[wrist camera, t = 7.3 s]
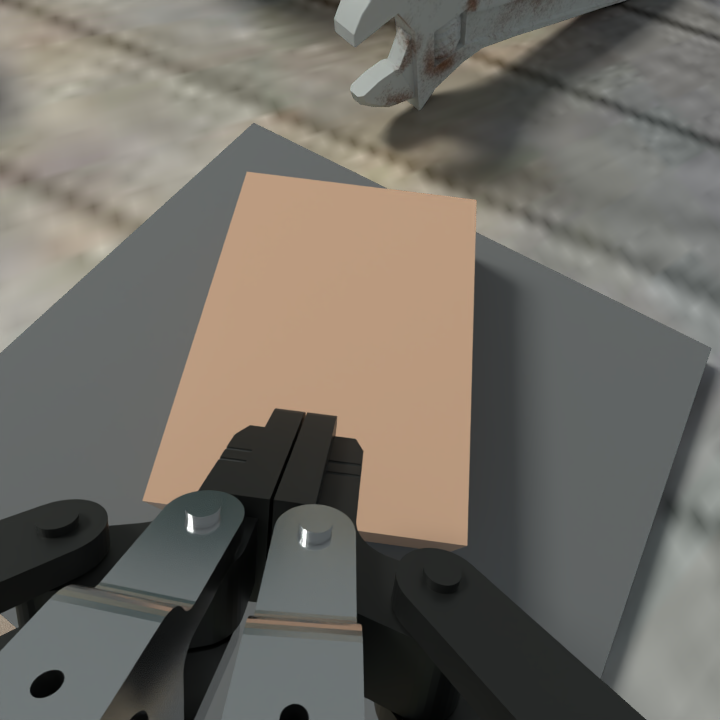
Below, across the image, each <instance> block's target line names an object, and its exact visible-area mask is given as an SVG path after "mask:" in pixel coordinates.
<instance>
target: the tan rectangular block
mask: <svg viewBox="0 0 720 720" xmlns="http://www.w3.org/2000/svg"><path fill="white" fill-rule="evenodd" d="M475 237H476V200H473V199H465V198H457V197H449V196H441V195H433V194H425V193H416V192H408V191H400V190H392V189H384V188H376V187H368V186H359V185H351V184H343V183H335V182H327V181H319V180H311V179H303V178H294V177H286V176H278V175H270V174H262V173H254V172H247V173H246V176H245V179H244V182H243V185H242V189H241V192H240V195H239V198H238V201H237V204H236V207H235V211H234V214H233V217H232V220H231V223H230V226H229V229H228V233H227V236H226V239H225V242H224V245H223V248H222V252H221V255H220V258H219V261H218V264H217V267H216V270H215V274H214V277H213V280H212V283H211V286H210V289H209V292H208V296H207V299H206V302H205V305H204V308H203V311H202V314H201V318H200V321H199V324H198V327H197V330H196V333H195V336H194V340H193V343H192V346H191V349H190V352H189V355H188V359H187V362H186V365H185V368H184V371H183V374H182V377H181V381H180V384H179V387H178V390H177V393H176V396H175V399H174V403H173V406H172V409H171V412H170V415H169V418H168V421H167V425H166V428H165V431H164V434H163V437H162V440H161V444H160V447H159V450H158V453H157V456H156V459H155V462H154V466H153V469H152V472H151V475H150V478H149V481H148V484H147V488H146V491H145V494H144V497H143V500H142V501H144V502H146V503H148V504H150V505H153V506H155V507H157V508H159V509H162V510H163V508H164V507H165V506H166V505H167V504H168V503H170V502H171V501H172V500H174V499H176V498H178V497H179V496H182V495H184V494H187V493H191V492H195V491H198V490H199V488H200V487H201V485H202V484H203V482H204V481H205V479H206V478H207V476H208V474H209V473H210V471H211V470H212V468H213V467H214V465H215V464H216V462H217V461H218V459H220V456H221V455H222V453H223V451H224V450H225V449H226V448H227V445H228V444H229V442H230V441H231V439H232V438H233V436H234V435H235V434H236V433H238V432H239V431H241V430H243V429H244V428H246V427H248V426H249V425H253V426H261V427H265V426H266V424H267V422H268V420H269V418H270V416H271V414H272V413H273V411H274V409H275V408H279V409H286V410H294V411H302V412H306V414H307V412H310V413H318V414H326V415H333V416H337V427H336V436H338V437H346V438H353V439H356V440H357V441H358V443H359V445H360V446H361V448H362V449H363V451H364V452H363V461H362V471H361V481H360V490H359V500H358V510H357V519H356V525H357V529H358V532H359V534H360V536H361V537H362V538H363V540H364V541H367V542H374V543H381V544H389V545H396V546H403V547H410V548H417V549H421V548H438V549H442V550H446V551H449V552H451V551H454V550H457V549H460V548H463V547H466V546H467V539H468V502H469V464H470V426H471V388H472V350H473V313H474V275H475Z"/></svg>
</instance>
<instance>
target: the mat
mask: <svg viewBox="0 0 720 720" xmlns="http://www.w3.org/2000/svg"><path fill="white" fill-rule="evenodd" d="M247 172H254V173H262V174H270V175H278V176H286V177H294V178H303V179H311V180H319V181H327V182H335V183H343V184H351V185H359V186H368V187H376V188H384V189H387V188H385V187H383V186H381V185H379V184H377V183H375V182H373V181H371V180H369V179H367V178H365V177H363V176H361V175H359V174H357V173H355V172H353V171H351V170H349V169H347V168H345V167H342V166H340V165H338V164H336V163H334V162H332V161H330V160H328V159H326V158H324V157H322V156H320V155H318V154H316V153H314V152H312V151H310V150H308V149H306V148H304V147H302V146H300V145H298V144H296V143H294V142H292V141H290V140H288V139H286V138H284V137H282V136H279V135H277V134H275V133H273V132H271V131H269V130H267V129H265V128H263V127H261V126H259V125H257V124H255V123H253V124H252V125H251V126H250V127H249V128H248V129H246V130H245V131H244V132H243V133H242V134H241V135H240V136H239V137H238V138H237V139H235V140H234V141H233V142H232V143H231V144H230V145H229V146H228V147H227V148H226V149H224V150H223V151H222V152H221V153H220V154H219V155H218V156H217V157H216V158H215V159H213V160H212V161H211V162H210V163H209V164H208V165H207V166H206V167H205V168H204V169H202V170H201V171H200V172H199V173H198V174H197V175H196V176H195V177H194V178H193V179H191V180H190V181H189V182H188V183H187V184H186V185H185V186H184V187H183V188H182V189H180V190H179V191H178V192H177V193H176V194H175V195H174V196H173V197H172V198H171V199H169V200H168V201H167V202H166V203H165V204H164V205H163V206H162V207H161V208H160V209H158V210H157V211H156V212H155V213H154V214H153V215H152V216H151V217H150V218H149V219H147V220H146V221H145V222H144V223H143V224H142V225H141V226H140V227H139V228H138V229H136V230H135V231H134V232H133V233H132V234H131V235H130V236H129V237H128V238H127V239H125V240H124V241H123V242H122V243H121V244H120V245H119V246H118V247H117V248H116V249H114V250H113V251H112V252H111V253H110V254H109V255H108V256H107V257H106V258H105V259H103V260H102V261H101V262H100V263H99V264H98V265H97V266H96V267H95V268H94V269H92V270H91V271H90V272H89V273H88V274H87V275H86V276H85V277H84V278H83V279H81V280H80V281H79V282H78V283H77V284H76V285H75V286H74V287H73V288H72V289H70V290H69V291H68V292H67V293H66V294H65V295H64V296H63V297H62V298H61V299H59V300H58V301H57V302H56V303H55V304H54V305H53V306H52V307H51V308H49V309H48V310H47V311H46V312H45V313H44V314H43V315H42V316H41V317H40V318H38V319H37V320H36V321H35V322H34V323H33V324H32V325H31V326H30V327H29V328H27V329H26V330H25V331H24V332H23V333H22V334H21V335H20V336H19V337H18V338H16V339H15V340H14V341H13V342H12V343H11V344H10V345H9V346H8V347H7V348H5V349H4V350H3V351H2V352H1V353H0V520H1V519H4V518H7V517H10V516H13V515H16V514H19V513H21V512H24V511H27V510H30V509H33V508H36V507H39V506H41V505H44V504H48V503H51V502H55V501H60V500H68V499H83V500H89V501H93V502H96V503H98V504H100V505H101V506H102V507H104V508H105V510H106V512H107V515H108V525H109V526H111V525H122V524H133V523H144V522H150V521H153V520H154V519H155V518H156V517H157V515H158V514H159V513H160V512H161V511H162V509H159V508H157V507H155V506H153V505H150V504H148V503H146V502H144V501H142V500H143V497H144V494H145V491H146V488H147V484H148V481H149V478H150V475H151V472H152V469H153V466H154V462H155V459H156V456H157V453H158V450H159V447H160V444H161V440H162V437H163V434H164V431H165V428H166V425H167V421H168V418H169V415H170V412H171V409H172V406H173V403H174V399H175V396H176V393H177V390H178V387H179V384H180V381H181V377H182V374H183V371H184V368H185V365H186V362H187V359H188V355H189V352H190V349H191V346H192V343H193V340H194V336H195V333H196V330H197V327H198V324H199V321H200V318H201V314H202V311H203V308H204V305H205V302H206V299H207V296H208V292H209V289H210V286H211V283H212V280H213V277H214V274H215V270H216V267H217V264H218V261H219V258H220V255H221V252H222V248H223V245H224V242H225V239H226V236H227V233H228V229H229V226H230V223H231V220H232V217H233V214H234V211H235V207H236V204H237V201H238V198H239V195H240V192H241V189H242V185H243V182H244V179H245V176H246V173H247ZM710 351H711V348H710V347H708V346H706V345H704V344H702V343H700V342H698V341H696V340H694V339H692V338H690V337H688V336H686V335H684V334H682V333H680V332H678V331H676V330H674V329H672V328H670V327H668V326H666V325H664V324H661V323H659V322H657V321H655V320H653V319H651V318H649V317H647V316H645V315H643V314H641V313H639V312H637V311H635V310H633V309H631V308H629V307H627V306H625V305H623V304H621V303H619V302H617V301H615V300H613V299H611V298H609V297H607V296H605V295H603V294H601V293H598V292H596V291H594V290H592V289H590V288H588V287H586V286H584V285H582V284H580V283H578V282H576V281H574V280H572V279H570V278H568V277H566V276H564V275H562V274H560V273H558V272H556V271H554V270H552V269H550V268H548V267H546V266H544V265H542V264H540V263H538V262H535V261H533V260H531V259H529V258H527V257H525V256H523V255H521V254H519V253H517V252H515V251H513V250H511V249H509V248H507V247H505V246H503V245H501V244H499V243H497V242H495V241H493V240H491V239H489V238H487V237H485V236H483V235H481V234H479V233H477V232H476V237H475V275H474V313H473V350H472V388H471V426H470V464H469V502H468V539H467V546H466V547H463V548H460V549H457V550H454V551H451V552H452V553H454V554H456V555H459V556H460V557H462V558H464V559H465V560H467V561H468V562H469V563H470V564H472V565H473V566H474V567H475V568H476V569H477V570H478V571H479V572H481V573H482V574H483V575H484V576H485V577H486V578H487V579H488V580H490V581H491V582H492V583H493V584H494V585H495V586H496V587H497V588H499V589H500V590H501V591H502V592H503V593H504V594H505V595H506V596H508V597H509V598H510V599H511V600H512V601H513V602H514V603H515V604H517V605H518V606H519V607H520V608H521V609H522V610H523V611H524V612H526V613H527V614H528V615H529V616H530V617H531V618H532V619H533V620H535V621H536V622H537V623H538V624H539V625H540V626H541V627H542V628H544V629H545V630H546V631H547V632H548V633H549V634H550V635H551V636H553V637H554V638H555V639H556V640H557V641H558V642H559V643H560V644H562V645H563V646H564V647H565V648H566V649H567V650H568V651H569V652H571V653H572V654H573V655H574V656H575V657H576V658H577V659H578V660H580V661H581V662H582V663H583V664H584V665H585V666H586V667H587V668H589V669H590V670H591V671H592V672H593V673H594V674H595V675H596V676H598V677H599V678H600V679H601V676H602V673H603V670H604V667H605V664H606V661H607V658H608V655H609V652H610V649H611V646H612V643H613V640H614V637H615V634H616V631H617V628H618V625H619V622H620V619H621V616H622V613H623V610H624V607H625V604H626V601H627V598H628V595H629V592H630V589H631V586H632V583H633V581H634V578H635V575H636V572H637V569H638V566H639V563H640V560H641V557H642V554H643V551H644V548H645V545H646V542H647V539H648V536H649V533H650V530H651V527H652V524H653V521H654V518H655V515H656V512H657V509H658V506H659V503H660V500H661V497H662V494H663V491H664V488H665V485H666V482H667V479H668V476H669V473H670V470H671V467H672V464H673V461H674V458H675V455H676V452H677V449H678V446H679V443H680V440H681V437H682V434H683V431H684V428H685V425H686V422H687V419H688V416H689V413H690V410H691V407H692V404H693V401H694V399H695V396H696V393H697V390H698V387H699V384H700V381H701V378H702V375H703V372H704V369H705V366H706V363H707V360H708V357H709V354H710ZM365 542H366V543H367V544H368V545H369V546H371V547H372V548H373V549H375V550H376V551H378V552H380V553H382V554H384V555H386V556H388V557H391V558H393V559H396V560H398V561H400V560H401V558H402V557H403V556H405V555H406V554H407V553H409V552H411V551H413V550H416V549H417V548H410V547H403V546H396V545H389V544H381V543H374V542H367V541H365ZM256 604H257V602H250V601H248V604H247V607H246V610H245V613H244V616H243V618H242V621H241V623H240V634H239V639H238V642H237V645H236V647H235V649H234V652H233V654H232V656H231V658H230V661H229V663H228V665H227V668H226V670H225V672H224V675H223V677H222V679H221V682H220V684H219V686H218V689H217V691H216V693H215V696H214V698H213V700H212V703H211V705H210V707H209V710H208V712H207V714H206V717H205V719H204V720H221V719H222V715H223V711H224V707H225V703H226V699H227V695H228V691H229V687H230V683H231V679H232V675H233V671H234V667H235V663H236V659H237V655H238V651H239V647H240V643H241V639H242V635H243V631H244V627H245V624H246V621H247V618H248V616H254V613H255V608H256ZM1 615H2V616H3V617H5V618H6V619H7V620H8V621H9V622H10V623H11V624H13V625H14V626H15V627H16V628H18V627H19V626H18V620H17V614H16V608H15V607H14V608H12V609H9V610H7V611H5V612H3V613H1ZM364 717H365V720H378V717H377V714H376V711H375V706H374V702H373V701H371V700H369V699H367V698H365V697H364Z"/></svg>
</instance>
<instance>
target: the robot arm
mask: <svg viewBox="0 0 720 720" xmlns="http://www.w3.org/2000/svg"><path fill="white" fill-rule="evenodd" d="M336 427H337V416H333V415H326V414H318V413H310V412H307V414H306V412H302V411H294V410H286V409H279V408H275V409H274V411H273V413H272V414H271V416H270V418H269V420H268V422H267V424H266V426H265V427H261V426H253V425H249V426H248V427H246V428H244V429H243V430H241V431H239V432H238V433H236V434H235V435H234V436H233V438H232V439H231V441H230V442H229V444H228V445H227V448H226V449H225V450H224V451H223V453H222V455H221V456H220V459H218V461H217V462H216V464H215V465H214V467H213V468H212V470H211V471H210V473H209V474H208V476H207V478H206V479H205V481H204V482H203V484H202V485H201V487H200V488H199V490H198V491H195V492H191V493H187V494H184V495H182V496H179V497H178V498H176V499H174V500H172V501H171V502H170V503H168V504H167V505H166V506H165V507H164V508H163V510H162V511H161V512H160V513H159V514H158V515H157V517H156V518H155V519H154V520H153V521H150V522H144V523H133V524H122V525H111V526H109V525H108V515H107V512H106V510H105V508H104V507H102V506H101V505H100V504H98V503H96V502H93V501H89V500H83V499H68V500H60V501H55V502H51V503H48V504H44V505H41V506H39V507H36V508H33V509H30V510H27V511H24V512H21V513H19V514H16V515H13V516H10V517H7V518H4V519H1V520H0V614H1V613H3V612H5V611H7V610H9V609H12V608H14V607H15V608H16V614H17V620H18V626H19V627H18V628H16V629H14V630H12V631H10V632H8V633H6V634H4V635H2V636H0V720H204V719H205V717H206V714H207V712H208V710H209V707H210V705H211V703H212V700H213V698H214V696H215V693H216V691H217V689H218V686H219V684H220V682H221V679H222V677H223V675H224V672H225V670H226V668H227V665H228V663H229V661H230V658H231V656H232V654H233V652H234V649H235V647H236V645H237V642H238V639H239V634H240V623H241V621H242V618H243V616H244V613H245V610H246V607H247V604H248V601H250V602H257V604H256V608H255V613H254V616H248V618H247V621H246V624H245V627H244V631H243V635H242V639H241V643H240V647H239V651H238V655H237V659H236V663H235V667H234V671H233V675H232V679H231V683H230V687H229V691H228V695H227V699H226V703H225V707H224V711H223V715H222V719H221V720H365V717H364V697H365V698H367V699H369V700H371V701H373V702H374V706H375V711H376V714H377V717H378V720H646V719H645V718H644V717H643V716H641V715H640V714H639V713H638V712H637V711H636V710H635V709H634V708H632V707H631V706H630V705H629V704H628V703H627V702H626V701H625V700H623V699H622V698H621V697H620V696H619V695H618V694H617V693H616V692H614V691H613V690H612V689H611V688H610V687H609V686H608V685H607V684H605V683H604V682H603V681H602V680H601V679H600V678H599V677H598V676H596V675H595V674H594V673H593V672H592V671H591V670H590V669H589V668H587V667H586V666H585V665H584V664H583V663H582V662H581V661H580V660H578V659H577V658H576V657H575V656H574V655H573V654H572V653H571V652H569V651H568V650H567V649H566V648H565V647H564V646H563V645H562V644H560V643H559V642H558V641H557V640H556V639H555V638H554V637H553V636H551V635H550V634H549V633H548V632H547V631H546V630H545V629H544V628H542V627H541V626H540V625H539V624H538V623H537V622H536V621H535V620H533V619H532V618H531V617H530V616H529V615H528V614H527V613H526V612H524V611H523V610H522V609H521V608H520V607H519V606H518V605H517V604H515V603H514V602H513V601H512V600H511V599H510V598H509V597H508V596H506V595H505V594H504V593H503V592H502V591H501V590H500V589H499V588H497V587H496V586H495V585H494V584H493V583H492V582H491V581H490V580H488V579H487V578H486V577H485V576H484V575H483V574H482V573H481V572H479V571H478V570H477V569H476V568H475V567H474V566H473V565H472V564H470V563H469V562H468V561H467V560H465V559H464V558H462V557H460V556H459V555H456V554H454V553H452V552H449V551H446V550H442V549H438V548H421V549H416V550H413V551H411V552H409V553H407V554H406V555H405V556H403V557H402V558H401V560H400V561H398V560H396V559H393V558H391V557H388V556H386V555H384V554H382V553H380V552H378V551H376V550H375V549H373V548H372V547H371V546H369V545H368V544H367V543H366V542H365V541H364V540H363V538H362V537H361V536H360V534H359V532H358V529H357V525H356V519H357V510H358V500H359V490H360V481H361V471H362V461H363V452H364V451H363V449H362V448H361V446H360V445H359V443H358V441H357V440H356V439H353V438H346V437H338V436H336Z"/></svg>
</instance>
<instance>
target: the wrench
mask: <svg viewBox="0 0 720 720" xmlns="http://www.w3.org/2000/svg"><path fill="white" fill-rule="evenodd" d="M623 1H626V0H341V1H340V4H339V7H338V9H337V12H336V15H335V18H334V25H335V32H336V33H338V34H339V35H340V36H341V37H342V38H344V39H345V40H346V41H347V42H348V43H350V44H351V45H352V46H353V47H356V46H358V45H359V44H360V43H361V42H363V41H364V40H365V39H366V38H368V37H369V36H370V35H371V34H373V33H374V32H375V31H376V30H378V29H379V28H380V27H381V26H383V25H384V24H385V23H386V22H388V21H389V20H390V19H391V18H393V17H395V23H396V37H395V39H394V42H393V45H392V48H391V51H390V53H389V56H388V59H383V60H381V61H379V62H378V63H376V64H375V65H374V66H372V67H371V68H369V69H368V70H366V71H365V72H364V73H363V74H362V75H361V76H360V77H359V78H358V79H357V80H356V81H355V82H354V83H353V84H351V90H350V91H351V94H352V96H353V98H354V99H355V100H356V101H357V102H358V103H359V104H361V105H366V106H371V107H390V106H393V105H396V104H398V103H401V102H404V101H406V100H407V101H408V102H409V103H411V104H412V105H413V106H414V107H415V108H417V109H418V110H421V109H422V107H423V106H424V104H425V103H426V102H427V100H428V99H429V97H430V96H431V94H432V93H433V91H434V90H435V88H436V87H437V86H438V85H439V84H440V83H442V82H443V81H444V80H445V79H446V78H447V77H448V76H449V75H450V74H451V73H452V72H453V71H454V70H455V69H456V68H457V67H458V66H459V65H460V64H461V63H462V62H464V61H465V60H466V59H468V58H469V57H471V56H472V55H473V54H475V53H476V52H478V51H479V50H480V49H482V48H484V47H486V46H489V45H492V44H495V43H497V42H500V41H503V40H506V39H508V38H511V37H514V36H517V35H520V34H523V33H526V32H530V31H533V30H536V29H539V28H542V27H545V26H548V25H551V24H555V23H558V22H561V21H564V20H567V19H570V18H573V17H576V16H579V15H582V14H585V13H588V12H591V11H594V10H597V9H600V8H603V7H606V6H610V5H613V4H616V3H620V2H623Z"/></svg>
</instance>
